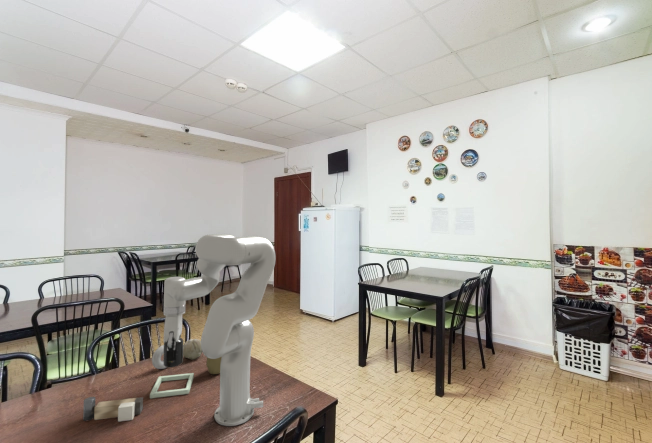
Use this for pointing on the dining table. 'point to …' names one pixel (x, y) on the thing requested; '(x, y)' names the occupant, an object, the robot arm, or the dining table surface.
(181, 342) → the supplement bottle
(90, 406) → the pivot post
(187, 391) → the seat frame
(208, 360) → the squeeze bottle
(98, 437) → the dining table surface
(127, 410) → the block
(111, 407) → the leg
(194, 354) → the garlic bulb
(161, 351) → the donut
